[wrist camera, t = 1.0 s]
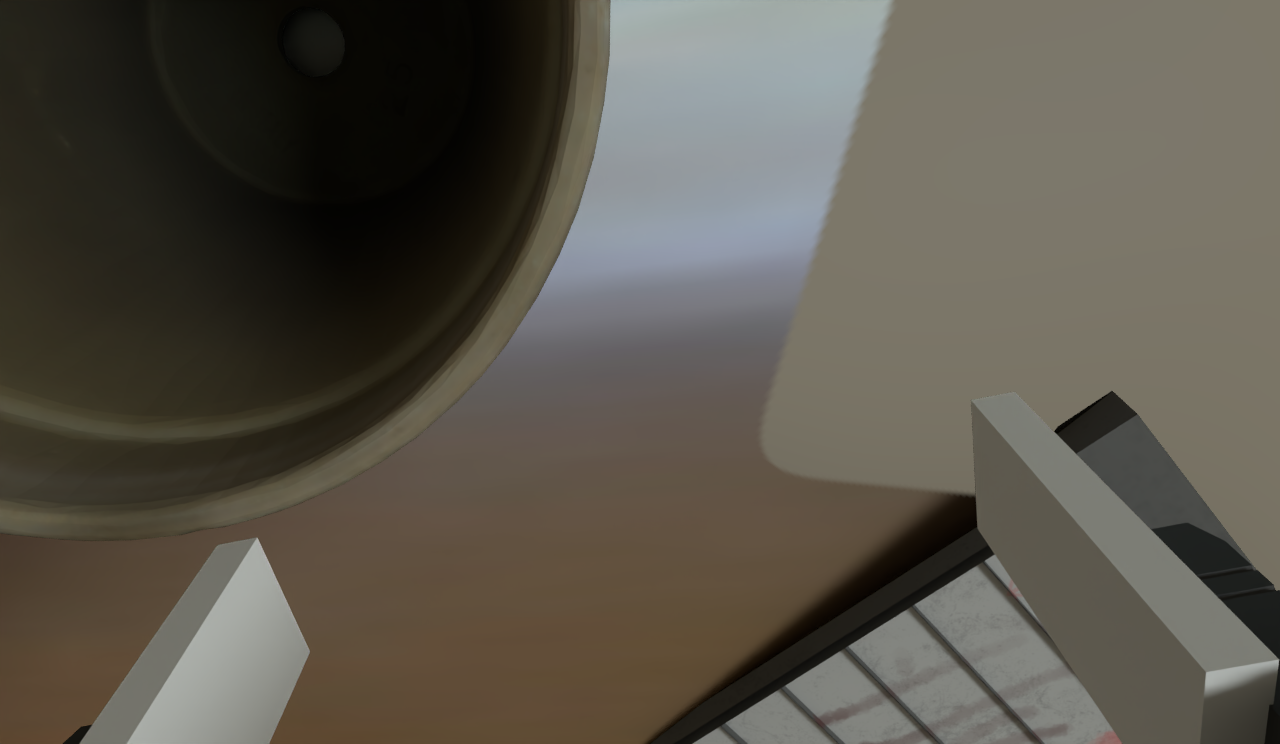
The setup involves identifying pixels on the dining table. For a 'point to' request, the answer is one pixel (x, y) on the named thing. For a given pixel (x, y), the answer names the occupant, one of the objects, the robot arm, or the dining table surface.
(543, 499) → the dining table surface
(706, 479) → the dining table surface
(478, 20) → the plant pot
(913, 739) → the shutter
